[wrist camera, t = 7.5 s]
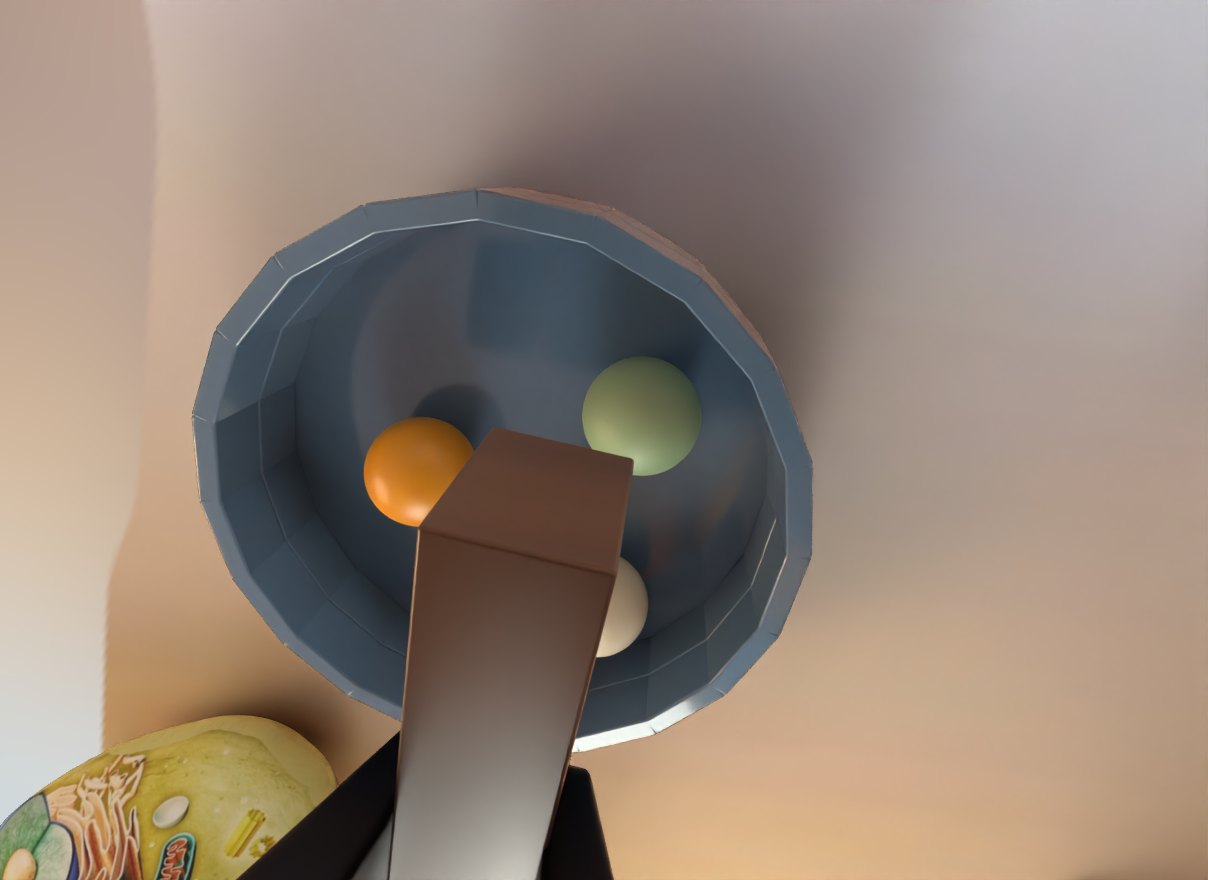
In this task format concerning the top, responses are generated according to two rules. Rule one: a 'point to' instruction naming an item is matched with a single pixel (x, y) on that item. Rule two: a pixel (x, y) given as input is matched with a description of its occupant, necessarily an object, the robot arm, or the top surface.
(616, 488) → the brown rectangular bar
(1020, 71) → the top surface
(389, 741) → the robot arm
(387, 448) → the bead
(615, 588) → the bead
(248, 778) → the cell model
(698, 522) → the bowl
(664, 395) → the bead
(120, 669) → the top surface
